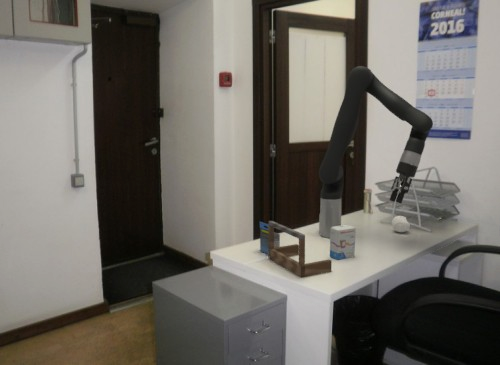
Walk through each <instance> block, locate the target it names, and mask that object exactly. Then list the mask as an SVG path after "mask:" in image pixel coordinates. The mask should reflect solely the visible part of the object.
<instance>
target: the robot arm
mask: <svg viewBox="0 0 500 365" xmlns="http://www.w3.org/2000/svg"><path fill="white" fill-rule="evenodd" d="M345 87H346V88H345V93H344V96H343V99H342V102H341V105H340V107H339V110H338V111H337V112H338V113H337V115H336V119H335V121H334V125H333V128H332V132H331V136H330V138H329V142H328V145H327V149H326V153H325V155H324V157H323V159H322V162H321V164H320V167H319V170H318V177H319V179H320V181H321V183H322V189H321V190H320V208H319V209H320V210H319V211H320V213H319V216H318V218H319V220H318V228H319V229H318V230H319V231H318V232H319V233H318V234H319V235H320V237H322V238H326V239H327V238H328V239H330V231H331V228H332V227H334V226H342V196H343V191H344V190H343V189H344V169H343V165H341V164H342V160H343V159H344V158H343V157H344V154H346V152H347V149H348V148H349V146H350V144H351V142H352V141H353V138H354V135H355V132H356V129H357V127H358V124H359V118H360V110H361V104H362V100H363V97H364V95H365V92H366V93H367V94H368V95H371V96H372V97H374V98H375V99H376V100H378V102H380V103H381V104H382V106H384V108H386V109H387V110H388V111H389V112H390V113H391V114H393V115H394V116H396V117H397V119H399V120H401V121H403V122H406V123H408V124H409V125H410V126H411V129H410V133H409V137H408V139H407V141H406V144H405V147H404V149H403V152H402V154H401V156H400V158H399V161H398V164H397V167H396V169H395V172H396V173H397V174H399V175H398V176H395V178H394V179H393V183H392V185H391V187H390V189H391V194H390V197H389V201H391V202H394V203H395V202H396V203H398V204H402V203H403V200H404V197H405V195H406V194H408V193H409V190H410V187H411V184H412V181H413V178H415V177H416V173H417V171H418V168H419V165H420V162H421V158H422V154H423V152H424V149H425V146H426V140H427V138H428V135H429V133H430V130H432V128H433V125H434V122H433V119H432V117H430V116H429V115H428V114H427V113H425V111H422V110H421V109H418V108H416V107H414V106H413V104H410V103H409V102H408V101H407V100H406V99H405V98H403V97H401V95H399V94H398V93H396V92H395V91H393V90H392V89H390V87H387V86H386V85H385V84H384V83H383V82H382V81H380V80H379V78H378V77H377V76H376V75H375V74H374V73H373V71H372V69H370V68H369V67H366V66H363V65H358V66H355V67H354V68H352V70H350V71H349V74H348V77H347V82H346V86H345Z"/></svg>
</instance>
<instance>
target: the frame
mask: <svg viewBox="0 0 500 365" xmlns="http://www.w3.org/2000/svg"><path fill="white" fill-rule="evenodd" d="M267 224H268V227H267V228H268V230H269V254H268V260H270V261H272V262H274V263H275V264H277V265H279V266H280V267H282V268H284V269H285V270H287V271H289V272H291V273H292V274H294V275H296V276H297V277H300V278H306V277H311V276H315V275H321V273H322V274H325V273H326V272H327V273H331V272H332V263H333V262H332V260H331V259H324V260H318V261H313V262H308V263H306V235H305V234H303V233H301V232H299V231H297V230H295V229H292V228H290V227H288V226H285V225H283V224H280V223H278V222H276V221H273V220H268V223H267ZM275 229H276V230H279V231H280V232H283V233H285V234H287V235H290V236H291V237H294V238H296V239H298V243H294V244H289V245H284V246H280V247H276V248H274V232H275ZM296 256H298V261H297V260H296V259H293V258H291V257H296Z"/></svg>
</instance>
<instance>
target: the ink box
mask: <svg viewBox="0 0 500 365" xmlns="http://www.w3.org/2000/svg"><path fill="white" fill-rule="evenodd" d="M356 229H357V228H356V227H354V226H353V225H352V226H351V225H350V224H343V225H342V224H341V226H334V227H332V228H331V231H330V238H329V239H330V240H329V257H330V258H333V259H334V260H337V261H339V260H344V259H349V258H354V257H355V252H356V251H355V250H356Z"/></svg>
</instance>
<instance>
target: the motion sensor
mask: <svg viewBox="0 0 500 365" xmlns="http://www.w3.org/2000/svg"><path fill="white" fill-rule="evenodd" d="M391 220H392V221H391V226H392V229H393V230H394V231H395V232H397V233H399V234H400V233H401V234H402V233H406V232H407V231H408V230H409V229H410V226H411V224H410V222H408V220H407V217H406V216H402V215H395V217H393V219H391Z"/></svg>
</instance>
